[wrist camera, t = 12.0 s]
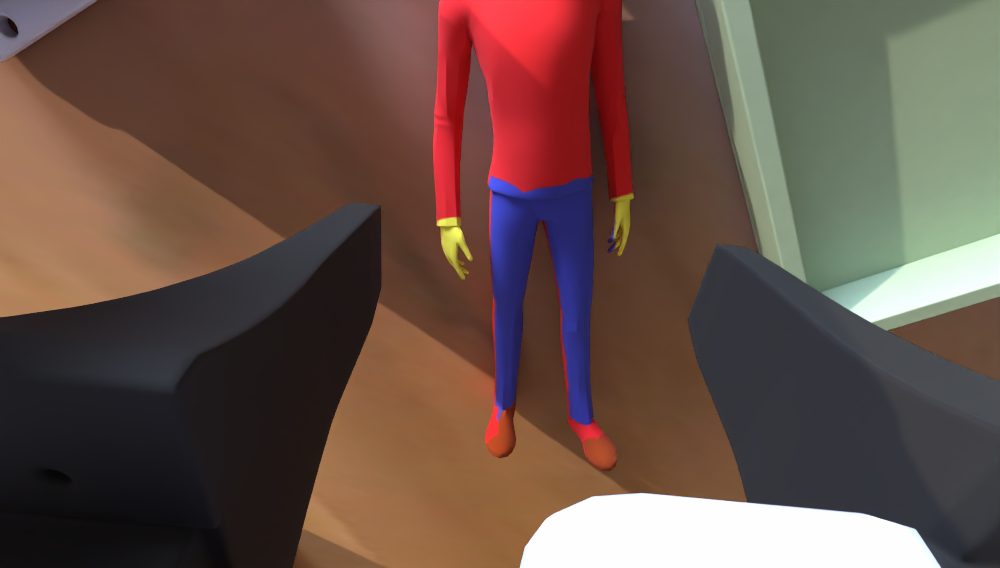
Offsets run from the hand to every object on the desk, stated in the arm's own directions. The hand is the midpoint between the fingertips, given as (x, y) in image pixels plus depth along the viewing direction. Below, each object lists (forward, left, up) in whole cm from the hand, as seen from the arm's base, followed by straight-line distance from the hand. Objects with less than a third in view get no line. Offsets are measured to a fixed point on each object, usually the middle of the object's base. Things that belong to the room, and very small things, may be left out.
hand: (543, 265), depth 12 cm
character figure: (0, 0, -6) cm, 6 cm away
